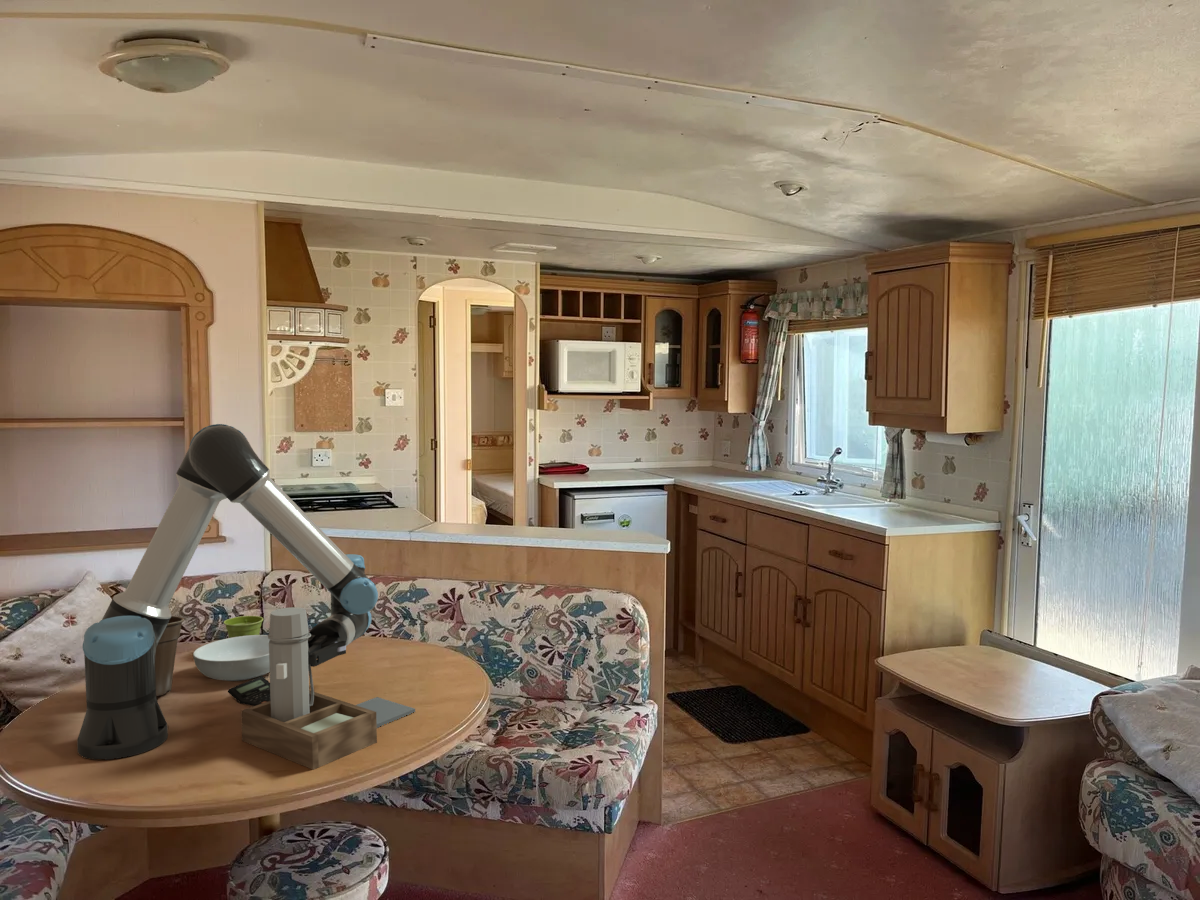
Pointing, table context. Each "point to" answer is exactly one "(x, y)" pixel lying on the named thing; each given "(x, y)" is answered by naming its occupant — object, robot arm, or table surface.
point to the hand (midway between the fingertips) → (280, 672)
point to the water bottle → (290, 664)
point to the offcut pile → (326, 722)
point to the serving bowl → (234, 658)
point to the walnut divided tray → (305, 744)
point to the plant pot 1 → (167, 655)
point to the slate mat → (386, 710)
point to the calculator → (252, 692)
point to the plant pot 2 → (243, 626)
